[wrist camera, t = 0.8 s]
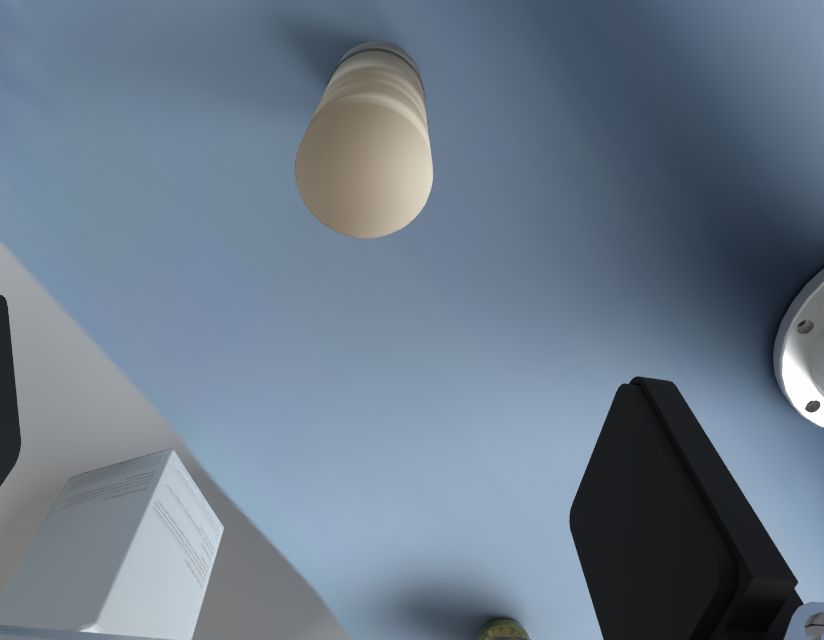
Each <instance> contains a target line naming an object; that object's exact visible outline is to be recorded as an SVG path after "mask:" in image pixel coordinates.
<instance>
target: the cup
mask: <svg viewBox="0 0 824 640" xmlns="http://www.w3.org/2000/svg"><path fill="white" fill-rule="evenodd" d="M477 640H530V639H529V636H528V634H527V632H526V630H525V629H524V628H523V626H522V625H520V624H519V623H518V622H516V621H513V620H509V619H499V620H494V621H491V622H489V623H488V624H486V625H485V626H484V627H483V628H482V629H481V631H480V633H479V636H478V639H477Z"/></svg>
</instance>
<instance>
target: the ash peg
mask: <svg viewBox="0 0 824 640" xmlns="http://www.w3.org/2000/svg"><path fill="white" fill-rule="evenodd" d="M295 176H296V182H297V187H298V190H299V193H300V195H301V198H302V199H303V201H304V203H305V205H306V206H307V208H308V209H309V211H310V212H311V213H312V214H313V215H314V216H315V217H316V218H317V219H318V220H319V221H320V222H321V223H322V224H324V225H325V226H327V227H328V228H330V229H332V230H334V231H336V232H338V233H341V234H343V235H346V236H351V237H356V238H376V237H381V236H385V235H389V234H391V233H394V232H396V231H398V230H400V229H401V228H403V227H405V226H406V225H407V224H409V223H410V222H411V221H412V220H413V219H414V218H415V217H416V216H417V215H418V214H419V212H420V211H421V210H422V208H423V207H424V205H425V203H426V201H427V199H428V197H429V194H430V191H431V187H432V181H433V165H432V157H431V149H430V142H429V134H428V126H427V119H426V111H425V94H424V88H423V84H422V80H421V76H420V73H419V70H418V68H417V66H416V64H415V62H414V61H413V60H412V58H411V57H410V56H409V55H408V54H407V53H406V52H405V51H403V50H402V49H400V48H399V47H397V46H395V45H393V44H390V43H386V42H380V41H372V42H366V43H363V44H360V45H358V46H355V47H354V48H352V49H351V50H349V51H348V52H347V53H346V54H345V55H344V56H343V57H342V59H341V60H340V62H339V63H338V65H337V66H336V68H335V69H334V71H333V73H332V75H331V77H330V79H329V81H328V84H327V88H326V90H325V92H324V94H323V96H322V99H321V101H320V103H319V105H318V107H317V109H316V111H315V113H314V115H313V118H312V120H311V122H310V124H309V126H308V128H307V130H306V132H305V134H304V137H303V139H302V141H301V143H300V145H299V148H298V151H297V156H296V161H295Z"/></svg>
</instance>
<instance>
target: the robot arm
mask: <svg viewBox="0 0 824 640" xmlns="http://www.w3.org/2000/svg"><path fill="white" fill-rule="evenodd" d="M773 364H774V372H775V377H776V379H777V382H778V384H779V387H780V389H781V391H782V393H783V394H784V395H785V397H786V398H787V399H788V401H789V402H790V403H791V405H792V406H793V407H794V408H795V409H796V410H797V411H798V412H799V414H801V415H802V416H803V417H804V418H806V419H808V420H809V421H811V422H812V423H814V424H816V425H817V426H820V427H823V428H824V268H823V269H822V270H821V271H820V272H819V273H818V274H817V275H816V276H815V277H814V278H813V279H812V280H810V281H809V282H808V283H807V284H806V285H805V287H804V288H803V289H802V290H801V292H800V293H799V294H798V295H797V297H796V298H795V299H794V301H793V302H792V303H791V305H790V307H789V309H788V310H787V312H786V314H785V316H784V318H783V319H782V321H781V324H780V327H779V330H778V333H777V336H776V339H775V345H774V353H773ZM20 446H21V436H20V427H19V417H18V407H17V396H16V386H15V376H14V365H13V355H12V345H11V335H10V325H9V315H8V306H7V301H6V299H5V297H3V296H2V295H0V486H1V484H2V483H3V482H4V480H5V479H6V477H7V476H8V474H9V473H10V471H11V470H12V468H13V467H14V465H15V463H16V461H17V459H18V456H19V452H20ZM570 529H571V533H572V536H573V540H574V543H575V546H576V550H577V553H578V556H579V560H580V563H581V566H582V569H583V573H584V576H585V579H586V583H587V586H588V589H589V593H590V596H591V599H592V602H593V606H594V609H595V612H596V616H597V619H598V622H599V626H600V629H601V632H602V635H603V639H604V640H824V603H821V602H810V603H807V604H805V605H804V604H803V602H802V601H801V599H800V597H799V596H798V594H797V592H796V591H795V589H794V588H795V586H796V585H797V583H798V581H797V579H796V578H795V576H794V575H793V573H792V571H791V570H790V568H789V567H788V565H787V563H786V562H785V560H784V558H783V557H782V555H781V554H780V552H779V550H778V549H777V547H776V546H775V544H774V542H773V541H772V539H771V538H770V536H769V534H768V533H767V531H766V530H765V528H764V526H763V525H762V523H761V522H760V520H759V518H758V517H757V515H756V514H755V512H754V510H753V509H752V507H751V506H750V504H749V502H748V501H747V499H746V498H745V496H744V494H743V493H742V491H741V490H740V488H739V486H738V485H737V483H736V481H735V480H734V478H733V477H732V475H731V473H730V472H729V470H728V469H727V467H726V465H725V464H724V462H723V461H722V459H721V457H720V456H719V454H718V453H717V451H716V449H715V448H714V446H713V445H712V443H711V441H710V440H709V438H708V437H707V435H706V433H705V432H704V430H703V429H702V427H701V425H700V424H699V422H698V421H697V419H696V417H695V416H694V414H693V413H692V411H691V409H690V408H689V406H688V404H687V403H686V401H685V400H684V398H683V396H682V395H681V393H680V392H679V390H678V388H677V387H676V385H675V384H674V383H673V382H671V381H666V380H659V379H652V378H645V377H638V376H637V377H635V378H633V379H632V380H631V381H630V383H629V384H622V385H621V386H620V387H619V388H618V390H617V392H616V394H615V397H614V400H613V402H612V405H611V407H610V410H609V412H608V415H607V417H606V420H605V422H604V425H603V427H602V430H601V433H600V435H599V438H598V440H597V443H596V445H595V448H594V450H593V453H592V455H591V458H590V461H589V463H588V466H587V468H586V471H585V473H584V476H583V478H582V481H581V483H580V486H579V489H578V491H577V494H576V496H575V499H574V501H573V504H572V507H571V510H570ZM0 640H174V639H162V638H151V637H139V636H127V635H115V634H103V633H92V632H80V631H68V630H56V629H44V628H33V627H21V626H9V625H0Z"/></svg>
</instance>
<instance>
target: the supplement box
mask: <svg viewBox="0 0 824 640" xmlns="http://www.w3.org/2000/svg"><path fill="white" fill-rule="evenodd" d="M223 529H224V527H223V525H222V524H221V522H220V521H219V520H218V518H217V516H216V515H215V513H214V512H213V510H212V508H211V507H210V505H209V504H208V502H207V501H206V500H205V498H204V496H203V495H202V493H201V491H200V490H199V488H198V487H197V485H196V484H195V482H194V481H193V479H192V478H191V476H190V474H189V473H188V471H187V470H186V468H185V467H184V465H183V463H182V462H181V460H180V459H179V457H178V456H177V454H176V452H175V451H174V450H173V449H168V450H164V451H160V452H157V453H153V454H150V455H146V456H143V457H139V458H136V459H132V460H128V461H125V462H121V463H118V464H114V465H111V466H107V467H104V468H101V469H97V470H94V471H90V472H86V473H83V474H80V475H77V476H74V477H72V478H70V479H69V480H68V482H67V484H66V486H65V487H64V489H63V491H62V493H61V495H60V496H59V498H58V500H57V501H56V502H55V504H54V506H53V508H52V509H51V511H50V513H49V515H48V516H47V518H46V520H45V521H44V523H43V525H42V527H41V528H40V530H39V532H38V534H37V535H36V537H35V538H34V540H33V542H32V543H31V545H30V547H29V548H28V550H27V552H26V554H25V555H24V557H23V559H22V561H21V562H20V564H19V566H18V567H17V569H16V571H15V572H14V574H13V576H12V577H11V579H10V581H9V582H8V584H7V586H6V588H5V589H4V591H3V593H2V594H1V596H0V625H9V626H21V627H33V628H44V629H56V630H68V631H80V632H92V633H103V634H115V635H127V636H139V637H151V638H162V639H174V640H192V636H193V633H194V629H195V626H196V622H197V619H198V616H199V612H200V608H201V605H202V602H203V598H204V595H205V591H206V587H207V584H208V581H209V577H210V574H211V570H212V567H213V563H214V560H215V557H216V554H217V550H218V546H219V543H220V539H221V536H222V533H223Z"/></svg>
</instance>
